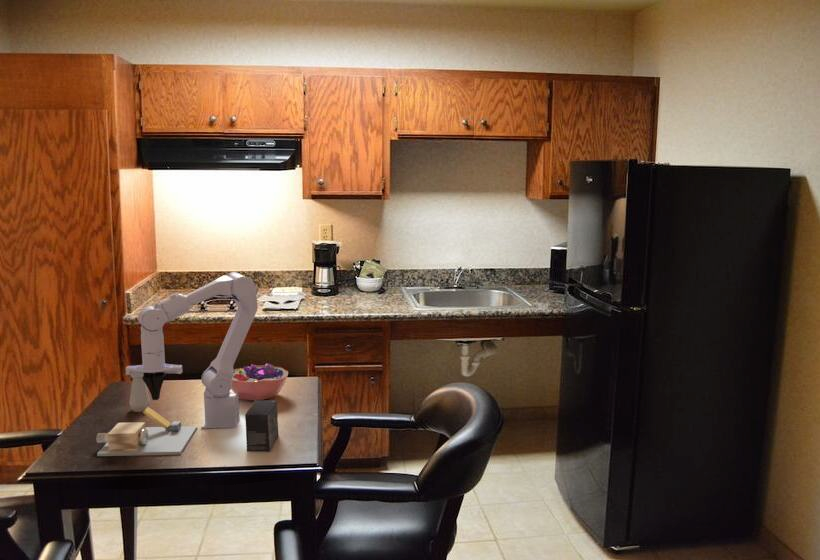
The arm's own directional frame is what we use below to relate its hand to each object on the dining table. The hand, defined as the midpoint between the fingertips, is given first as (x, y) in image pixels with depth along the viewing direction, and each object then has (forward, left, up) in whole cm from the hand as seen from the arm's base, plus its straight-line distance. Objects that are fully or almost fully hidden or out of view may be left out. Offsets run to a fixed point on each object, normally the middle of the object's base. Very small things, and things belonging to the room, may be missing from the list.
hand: (156, 398), depth 184 cm
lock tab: (0, -1, -7) cm, 7 cm away
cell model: (-23, -29, -11) cm, 38 cm away
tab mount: (-5, -1, -10) cm, 11 cm away
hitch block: (+5, +8, -10) cm, 14 cm away
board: (+1, +5, -10) cm, 11 cm away
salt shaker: (+11, -20, -11) cm, 25 cm away
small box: (-30, +7, -11) cm, 32 cm away
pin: (+7, +8, -9) cm, 14 cm away
